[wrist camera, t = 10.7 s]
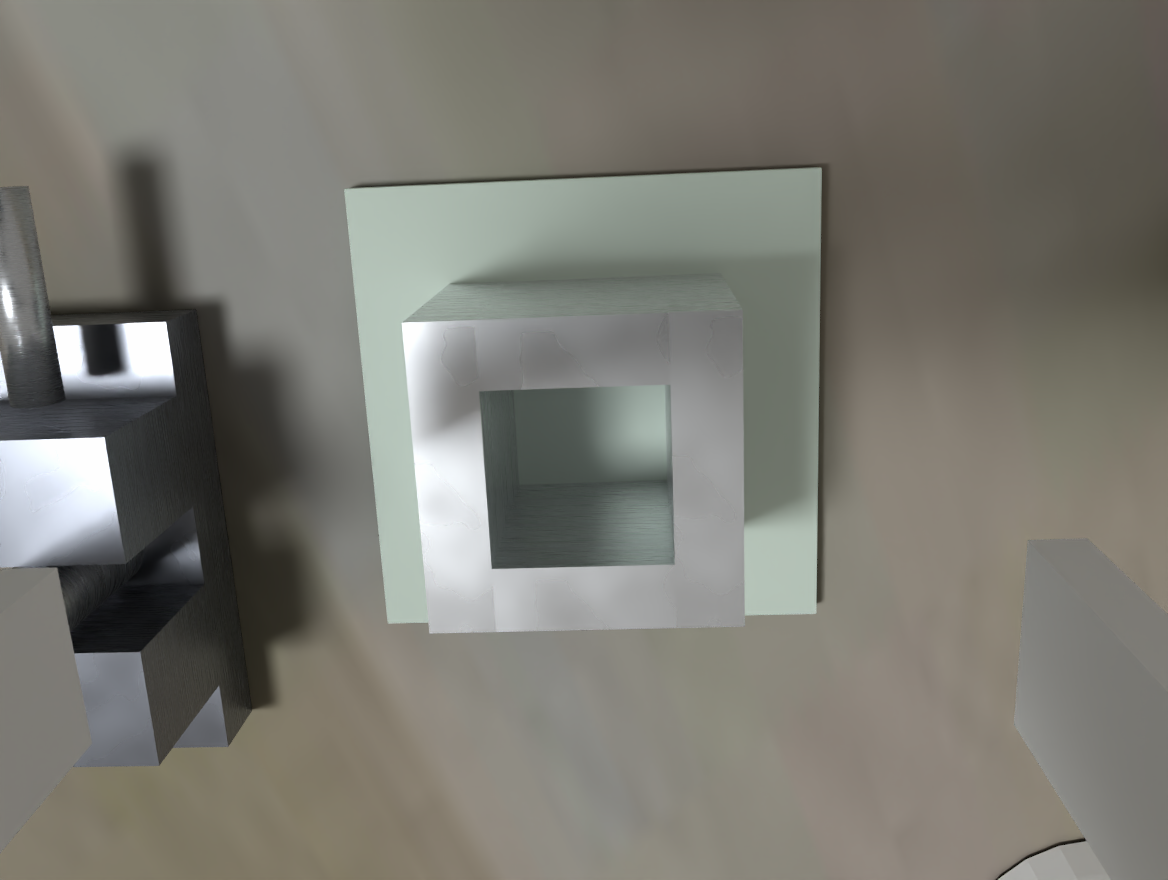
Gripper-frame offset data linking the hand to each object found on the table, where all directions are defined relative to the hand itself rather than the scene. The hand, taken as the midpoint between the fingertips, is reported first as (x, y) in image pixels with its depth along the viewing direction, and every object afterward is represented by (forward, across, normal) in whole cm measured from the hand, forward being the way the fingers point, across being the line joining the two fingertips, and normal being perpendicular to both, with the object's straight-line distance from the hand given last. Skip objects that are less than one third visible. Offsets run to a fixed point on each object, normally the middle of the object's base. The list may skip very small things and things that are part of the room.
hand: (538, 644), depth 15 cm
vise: (+15, -13, -2) cm, 20 cm away
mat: (+15, 0, -1) cm, 15 cm away
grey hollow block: (+15, 0, -1) cm, 15 cm away
